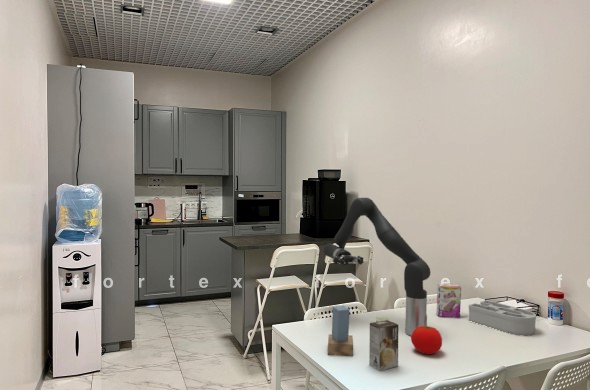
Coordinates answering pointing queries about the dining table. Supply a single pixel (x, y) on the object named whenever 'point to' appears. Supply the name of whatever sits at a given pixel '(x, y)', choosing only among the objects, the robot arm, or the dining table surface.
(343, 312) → the slate block
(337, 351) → the walnut block
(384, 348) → the coffee box
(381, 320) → the olive block
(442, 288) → the candy bar box
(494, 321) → the gray compartment organizer
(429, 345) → the tomato
